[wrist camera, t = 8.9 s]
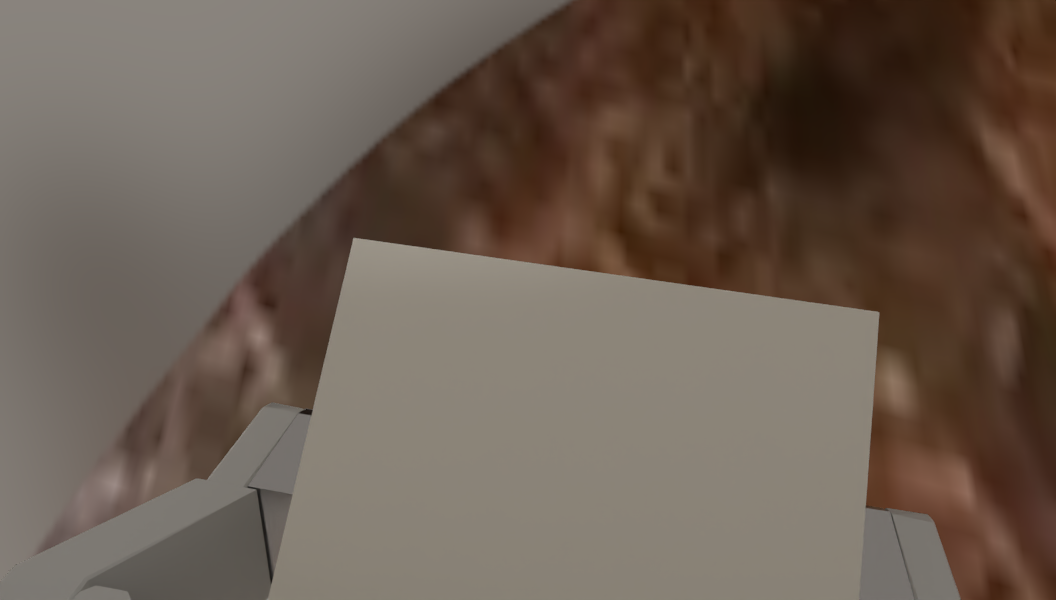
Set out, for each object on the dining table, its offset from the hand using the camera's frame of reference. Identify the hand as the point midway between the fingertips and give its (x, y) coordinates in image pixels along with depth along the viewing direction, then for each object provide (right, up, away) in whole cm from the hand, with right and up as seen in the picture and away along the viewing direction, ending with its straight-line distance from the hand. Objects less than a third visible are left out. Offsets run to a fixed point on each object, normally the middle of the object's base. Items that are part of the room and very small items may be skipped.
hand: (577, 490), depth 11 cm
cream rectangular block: (0, -2, +4) cm, 5 cm away
